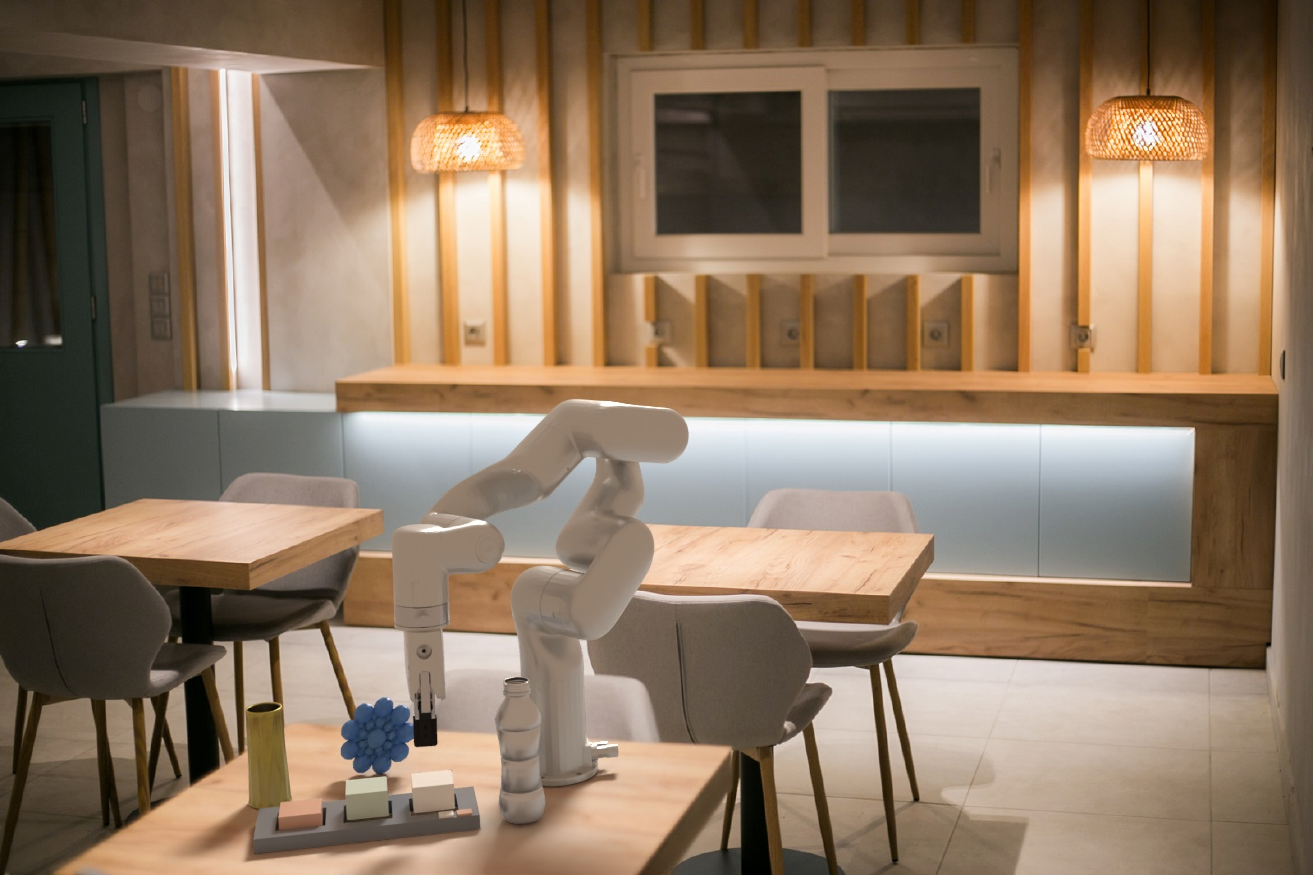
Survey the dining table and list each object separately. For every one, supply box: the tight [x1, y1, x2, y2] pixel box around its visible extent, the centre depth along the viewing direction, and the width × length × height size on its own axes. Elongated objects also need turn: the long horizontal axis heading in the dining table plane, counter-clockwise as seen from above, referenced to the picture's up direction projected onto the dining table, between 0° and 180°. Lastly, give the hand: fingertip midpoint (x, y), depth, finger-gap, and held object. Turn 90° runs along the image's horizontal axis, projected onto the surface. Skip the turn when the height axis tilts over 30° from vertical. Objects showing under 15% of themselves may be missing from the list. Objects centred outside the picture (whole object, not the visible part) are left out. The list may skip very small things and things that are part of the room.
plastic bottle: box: [494, 676, 547, 825], centre depth 198 cm, size 6×7×20 cm
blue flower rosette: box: [340, 696, 414, 775], centre depth 220 cm, size 12×7×12 cm, turn 93°
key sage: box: [345, 776, 390, 821], centre depth 199 cm, size 6×6×4 cm
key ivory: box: [410, 769, 456, 814], centre depth 201 cm, size 6×6×4 cm
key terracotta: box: [278, 797, 325, 830], centre depth 197 cm, size 6×6×4 cm
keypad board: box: [252, 785, 481, 855], centre depth 199 cm, size 30×11×2 cm, turn 102°
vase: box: [245, 701, 293, 810], centre depth 208 cm, size 6×6×14 cm
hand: (425, 744), depth 199 cm, fingers closed
